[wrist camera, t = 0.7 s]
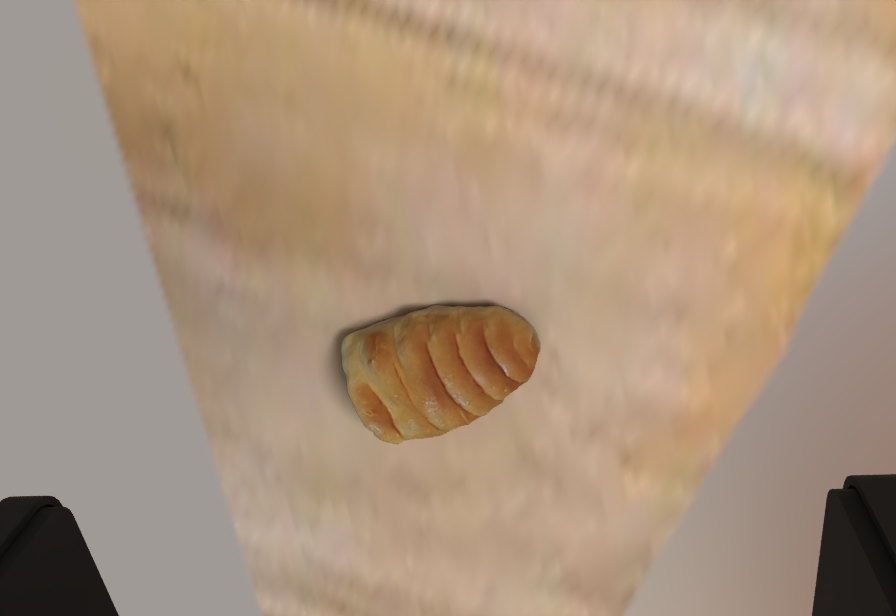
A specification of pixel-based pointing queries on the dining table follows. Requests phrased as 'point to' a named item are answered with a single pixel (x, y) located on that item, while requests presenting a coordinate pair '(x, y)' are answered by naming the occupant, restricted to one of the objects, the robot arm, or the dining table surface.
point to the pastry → (436, 368)
